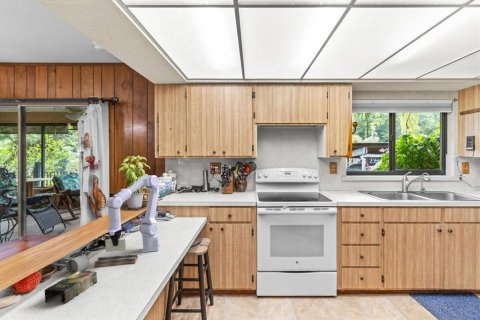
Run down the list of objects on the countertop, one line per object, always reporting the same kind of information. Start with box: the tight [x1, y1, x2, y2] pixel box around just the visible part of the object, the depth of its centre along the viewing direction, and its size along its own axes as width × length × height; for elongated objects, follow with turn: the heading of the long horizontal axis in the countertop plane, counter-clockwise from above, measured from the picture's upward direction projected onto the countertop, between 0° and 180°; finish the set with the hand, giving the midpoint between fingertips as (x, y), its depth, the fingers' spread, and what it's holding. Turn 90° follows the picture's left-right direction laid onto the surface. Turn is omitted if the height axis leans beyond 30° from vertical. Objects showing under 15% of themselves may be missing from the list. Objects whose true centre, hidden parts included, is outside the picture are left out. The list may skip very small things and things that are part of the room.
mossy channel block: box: [43, 270, 98, 304], centre depth 126 cm, size 20×10×6 cm, turn 168°
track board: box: [93, 253, 139, 269], centre depth 158 cm, size 20×9×2 cm, turn 99°
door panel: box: [105, 237, 127, 253], centre depth 158 cm, size 10×2×6 cm, turn 99°
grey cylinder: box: [65, 255, 90, 276], centre depth 148 cm, size 11×8×8 cm
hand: (116, 245), depth 158 cm, fingers closed on door panel, 2 cm apart
